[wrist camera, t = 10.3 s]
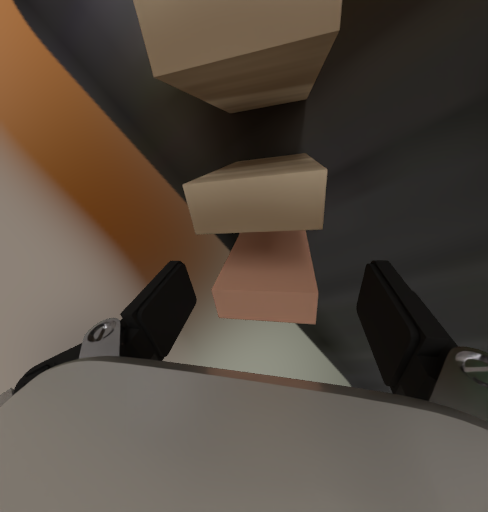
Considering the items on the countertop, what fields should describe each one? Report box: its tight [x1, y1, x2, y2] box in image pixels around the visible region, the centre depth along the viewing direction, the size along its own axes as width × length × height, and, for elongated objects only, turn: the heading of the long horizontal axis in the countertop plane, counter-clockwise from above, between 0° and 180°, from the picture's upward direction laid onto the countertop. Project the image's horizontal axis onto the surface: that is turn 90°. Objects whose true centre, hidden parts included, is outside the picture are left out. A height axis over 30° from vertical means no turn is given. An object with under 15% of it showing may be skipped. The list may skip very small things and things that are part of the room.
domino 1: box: [133, 0, 342, 113], centre depth 8 cm, size 2×5×9 cm, turn 98°
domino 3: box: [211, 230, 318, 324], centre depth 13 cm, size 2×5×9 cm, turn 97°
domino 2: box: [183, 153, 327, 234], centre depth 11 cm, size 2×5×9 cm, turn 97°
